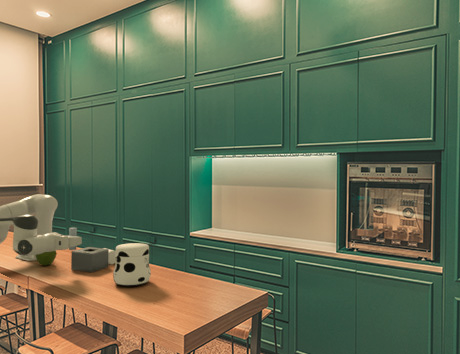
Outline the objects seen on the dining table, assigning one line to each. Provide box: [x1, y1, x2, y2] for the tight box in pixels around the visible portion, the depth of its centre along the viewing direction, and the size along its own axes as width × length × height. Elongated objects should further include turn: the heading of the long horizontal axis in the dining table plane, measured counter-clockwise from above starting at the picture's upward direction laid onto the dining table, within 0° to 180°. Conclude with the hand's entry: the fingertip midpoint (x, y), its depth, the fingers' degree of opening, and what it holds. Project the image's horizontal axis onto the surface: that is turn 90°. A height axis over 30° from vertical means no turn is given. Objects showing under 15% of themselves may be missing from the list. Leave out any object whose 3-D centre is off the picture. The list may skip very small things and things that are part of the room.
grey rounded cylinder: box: [68, 227, 78, 251], centre depth 189 cm, size 4×4×11 cm
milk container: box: [112, 242, 152, 288], centre depth 174 cm, size 17×17×18 cm
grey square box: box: [70, 246, 109, 273], centre depth 201 cm, size 14×13×10 cm
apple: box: [36, 250, 58, 266], centre depth 206 cm, size 11×10×10 cm
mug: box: [103, 247, 116, 265], centre depth 215 cm, size 12×10×8 cm
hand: (74, 237), depth 189 cm, fingers closed on grey rounded cylinder, 4 cm apart
